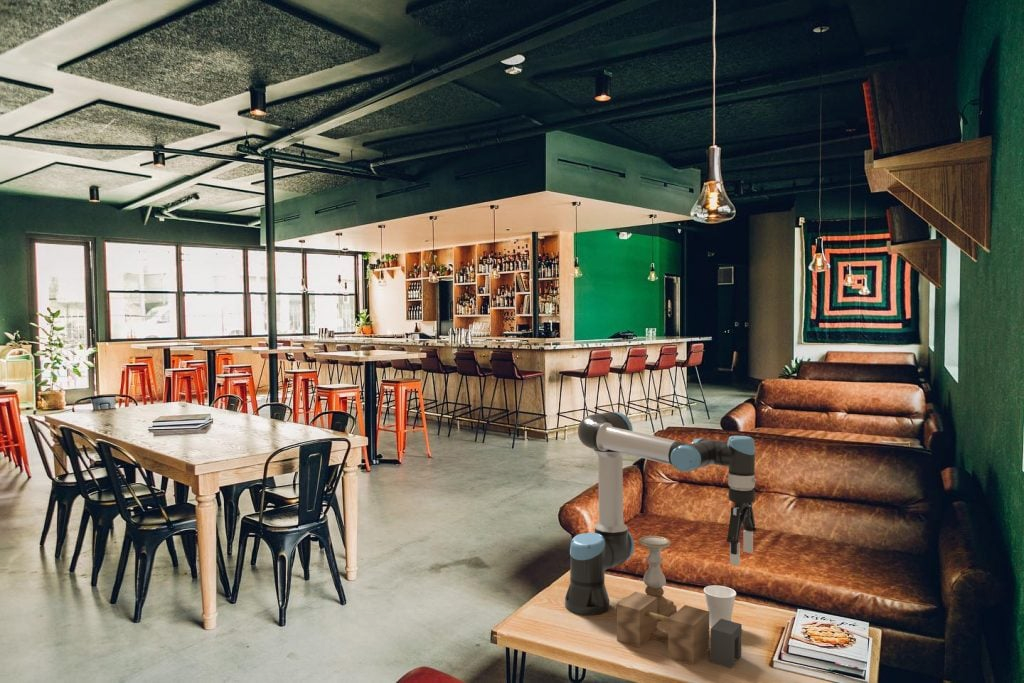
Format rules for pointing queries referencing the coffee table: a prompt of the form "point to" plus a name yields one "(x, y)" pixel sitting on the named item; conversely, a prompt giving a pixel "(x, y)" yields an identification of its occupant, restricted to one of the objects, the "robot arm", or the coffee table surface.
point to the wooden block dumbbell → (682, 635)
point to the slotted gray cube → (726, 643)
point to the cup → (719, 603)
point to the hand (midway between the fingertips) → (741, 558)
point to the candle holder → (657, 574)
